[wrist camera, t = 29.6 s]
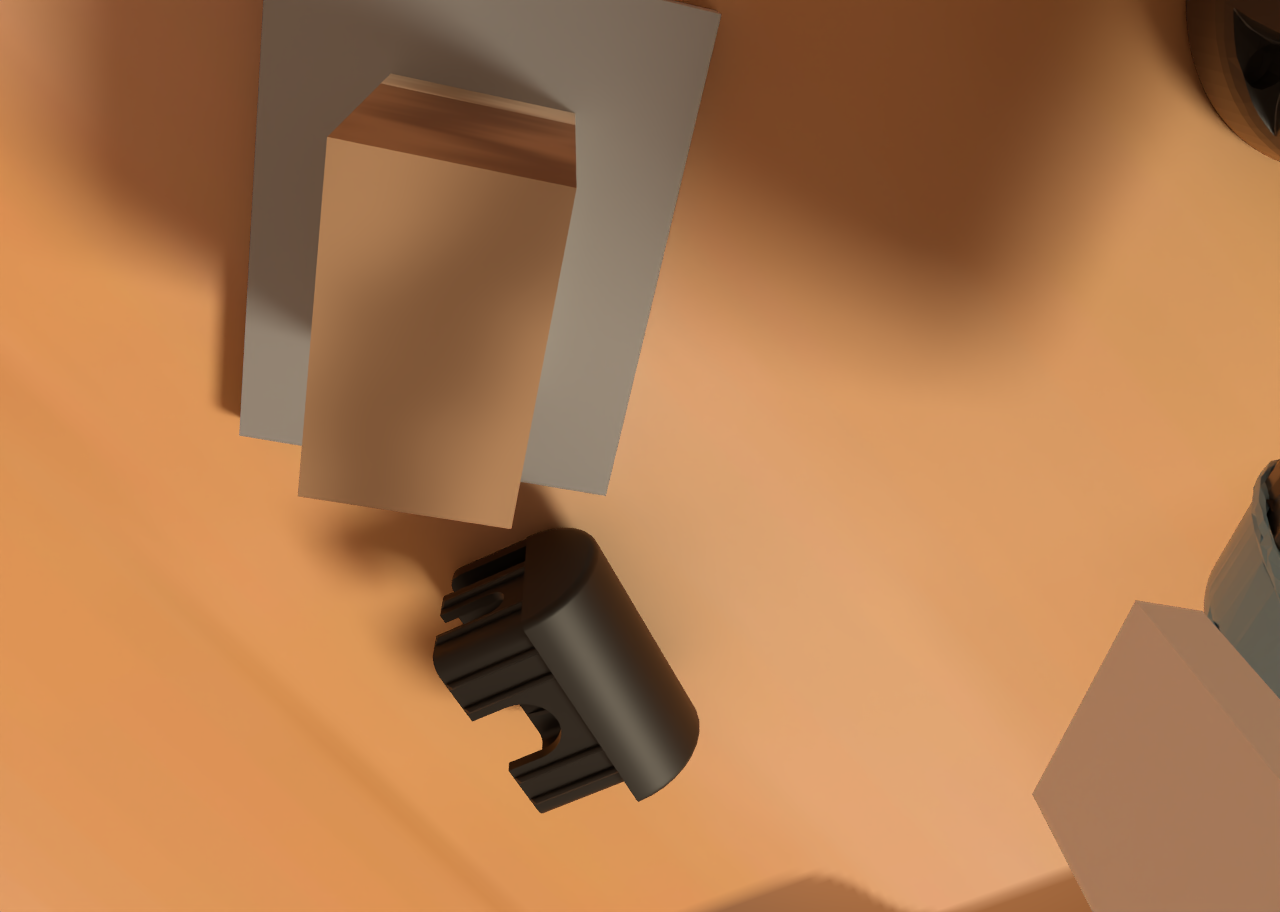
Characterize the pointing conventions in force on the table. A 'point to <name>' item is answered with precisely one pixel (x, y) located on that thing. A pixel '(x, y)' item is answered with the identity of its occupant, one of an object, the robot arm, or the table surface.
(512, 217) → the walnut box
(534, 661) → the end cap
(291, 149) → the gray board
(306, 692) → the table surface
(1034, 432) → the table surface
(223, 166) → the table surface
